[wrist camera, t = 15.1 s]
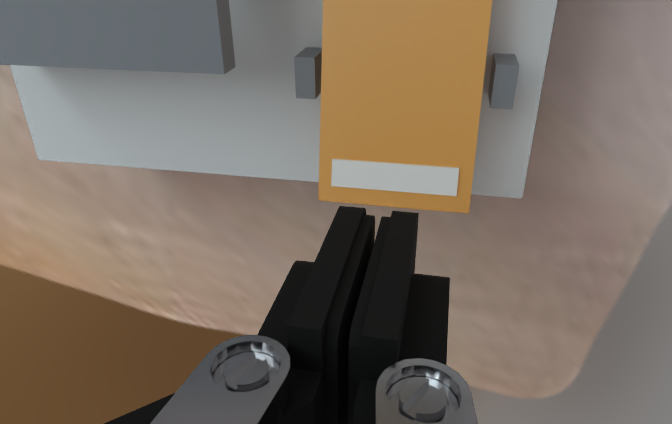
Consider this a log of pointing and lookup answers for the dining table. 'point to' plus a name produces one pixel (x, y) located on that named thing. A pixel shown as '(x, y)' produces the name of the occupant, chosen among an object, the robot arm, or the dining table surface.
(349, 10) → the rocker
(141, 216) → the dining table surface
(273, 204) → the dining table surface
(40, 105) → the switch housing
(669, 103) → the dining table surface
